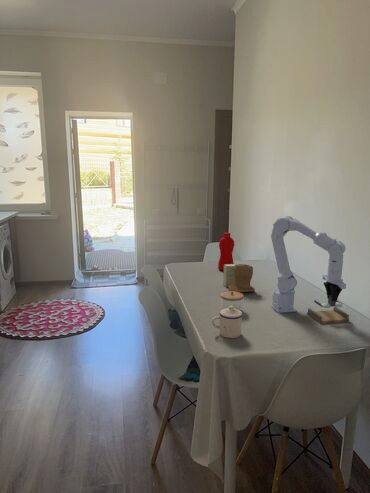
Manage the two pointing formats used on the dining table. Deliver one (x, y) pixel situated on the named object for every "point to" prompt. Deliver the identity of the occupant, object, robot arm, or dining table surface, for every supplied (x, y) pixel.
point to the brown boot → (242, 278)
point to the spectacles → (329, 303)
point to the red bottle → (225, 251)
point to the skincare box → (228, 275)
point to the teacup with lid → (229, 322)
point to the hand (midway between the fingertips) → (332, 299)
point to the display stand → (329, 316)
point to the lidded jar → (231, 299)
